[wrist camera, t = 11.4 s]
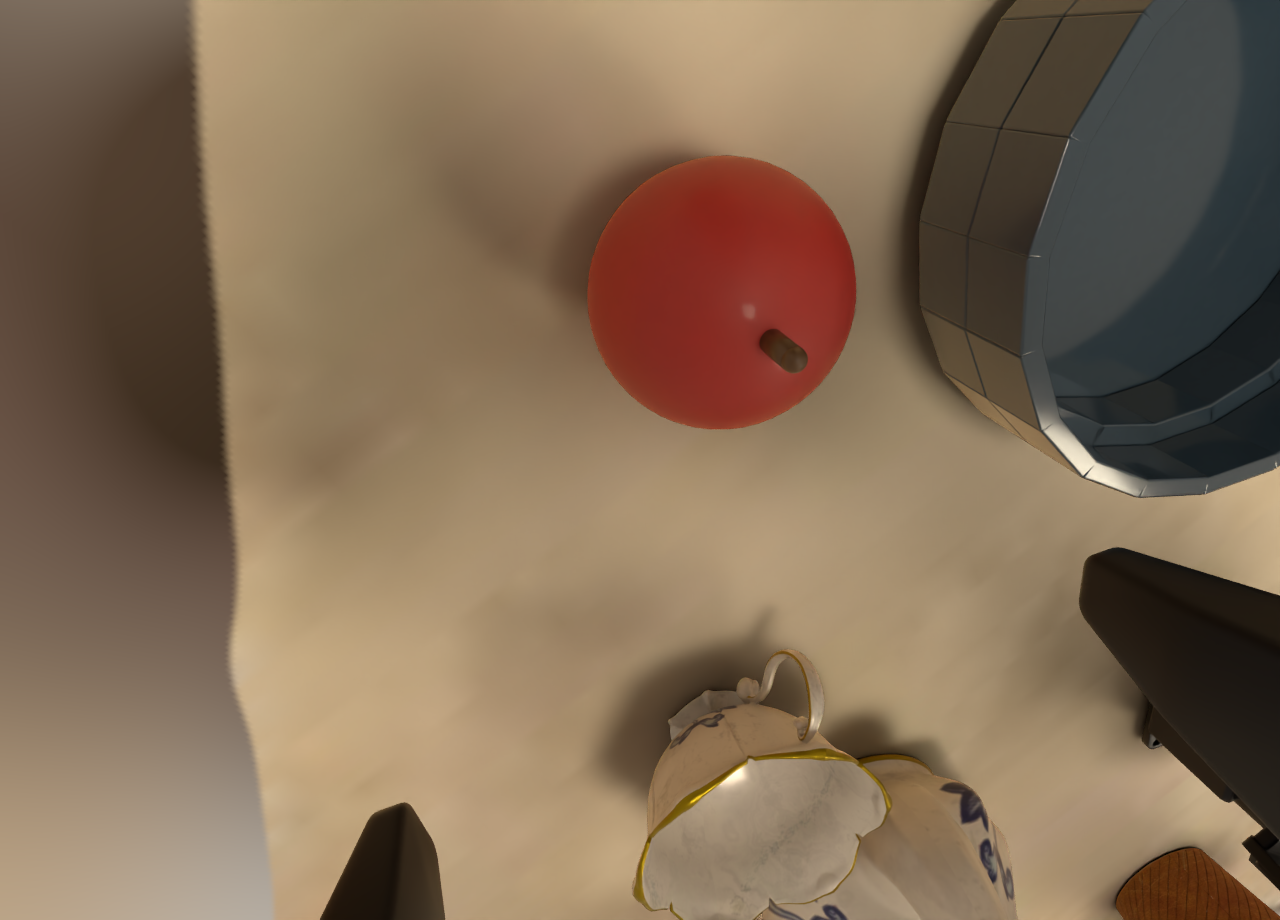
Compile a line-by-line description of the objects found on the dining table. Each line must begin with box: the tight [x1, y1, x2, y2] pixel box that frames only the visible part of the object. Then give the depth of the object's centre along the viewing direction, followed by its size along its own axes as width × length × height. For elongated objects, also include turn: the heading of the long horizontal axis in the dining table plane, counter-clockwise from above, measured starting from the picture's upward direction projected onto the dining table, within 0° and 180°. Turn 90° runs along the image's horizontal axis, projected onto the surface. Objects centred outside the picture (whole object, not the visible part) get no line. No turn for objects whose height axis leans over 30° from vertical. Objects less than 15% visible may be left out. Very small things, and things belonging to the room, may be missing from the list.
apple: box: [587, 155, 856, 429], centre depth 16 cm, size 6×6×7 cm
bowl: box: [919, 0, 1280, 498], centre depth 20 cm, size 15×15×5 cm
